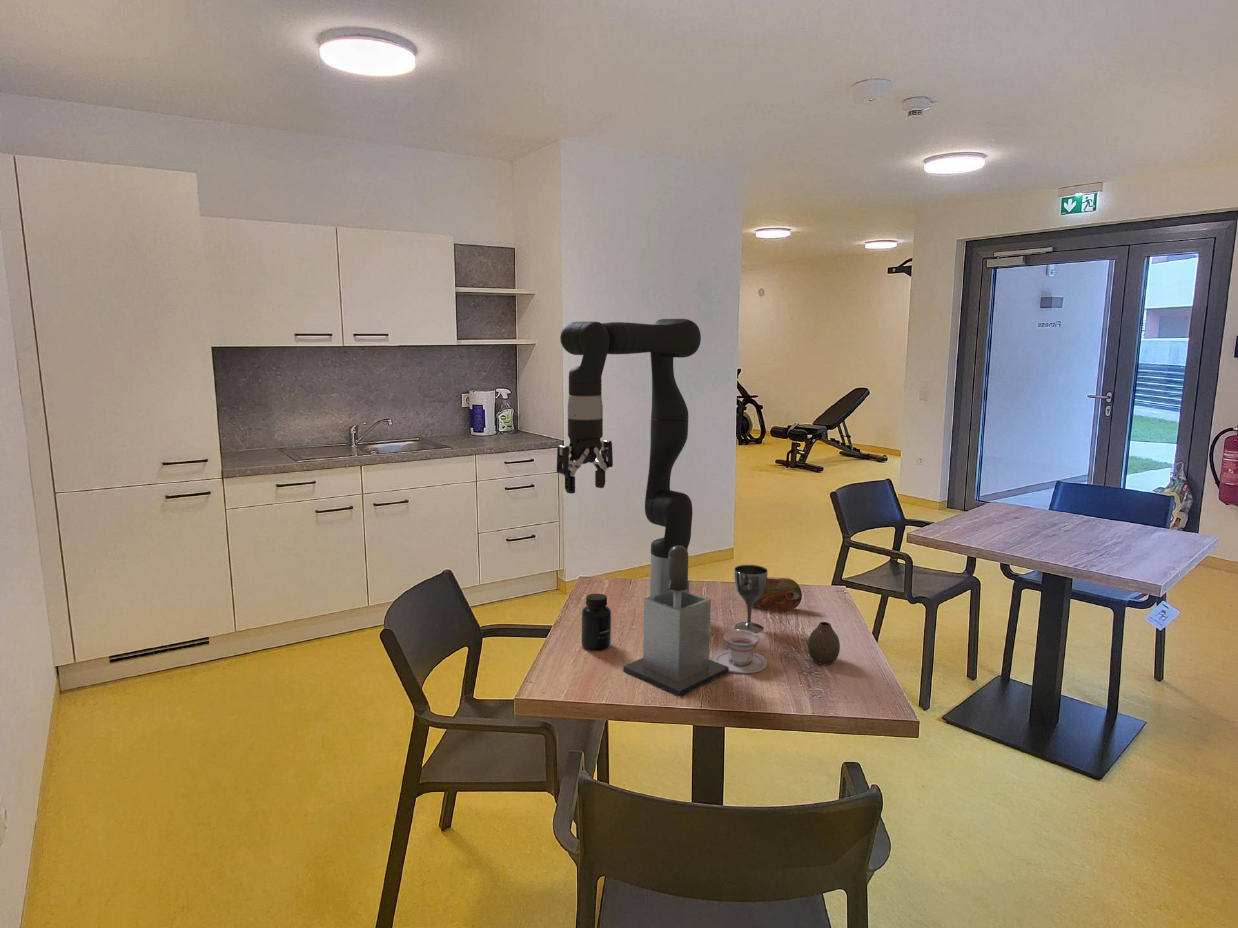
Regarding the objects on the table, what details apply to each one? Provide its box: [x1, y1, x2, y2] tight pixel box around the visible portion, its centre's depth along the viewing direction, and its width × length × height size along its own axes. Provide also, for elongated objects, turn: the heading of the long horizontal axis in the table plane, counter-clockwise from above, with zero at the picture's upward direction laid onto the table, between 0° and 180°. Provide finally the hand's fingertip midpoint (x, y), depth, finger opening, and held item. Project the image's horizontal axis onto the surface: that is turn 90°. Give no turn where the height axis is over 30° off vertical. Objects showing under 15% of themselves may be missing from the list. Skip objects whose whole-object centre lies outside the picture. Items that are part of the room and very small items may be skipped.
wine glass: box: [733, 564, 768, 634], centre depth 186 cm, size 8×8×15 cm
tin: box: [752, 576, 803, 612], centre depth 200 cm, size 15×3×8 cm, turn 77°
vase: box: [807, 621, 841, 665], centre depth 167 cm, size 7×7×9 cm
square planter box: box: [622, 590, 730, 697], centre depth 161 cm, size 16×16×16 cm
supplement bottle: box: [580, 593, 612, 652], centre depth 175 cm, size 7×7×12 cm
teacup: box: [712, 629, 768, 675], centre depth 167 cm, size 12×12×6 cm
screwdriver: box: [668, 545, 689, 609], centre depth 160 cm, size 8×8×25 cm
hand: (585, 490), depth 164 cm, fingers open, 8 cm apart
